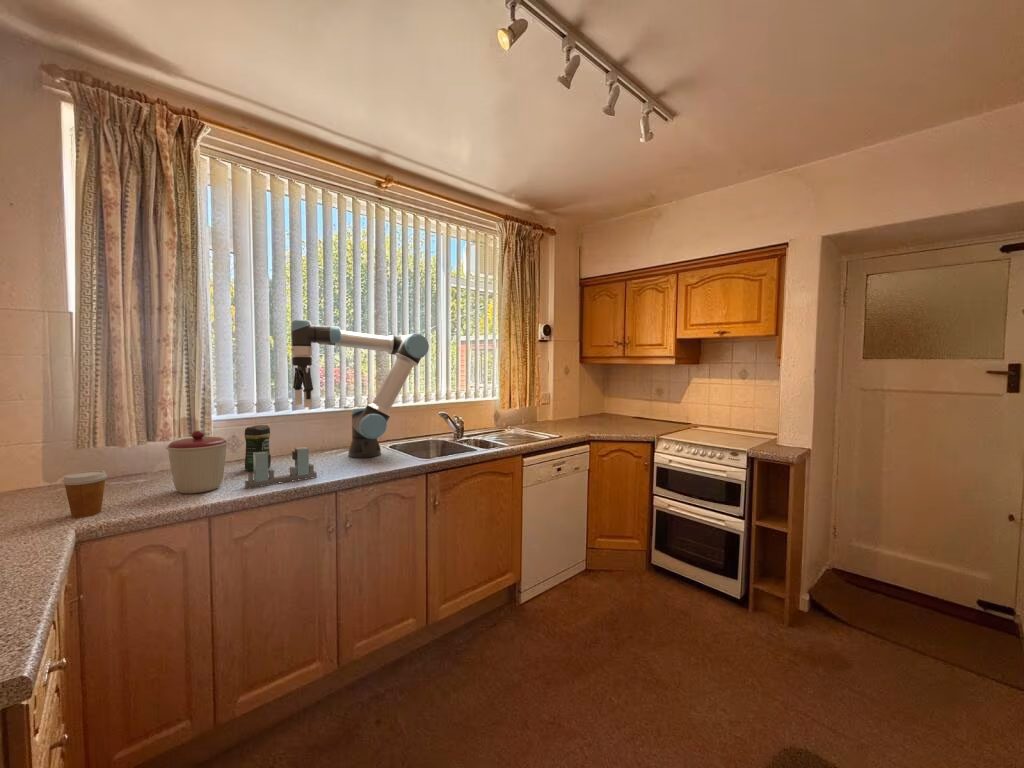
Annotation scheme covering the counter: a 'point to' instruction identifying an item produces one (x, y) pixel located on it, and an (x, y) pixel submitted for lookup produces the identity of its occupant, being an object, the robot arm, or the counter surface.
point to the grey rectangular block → (261, 465)
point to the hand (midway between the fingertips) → (303, 406)
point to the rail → (297, 472)
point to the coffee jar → (256, 443)
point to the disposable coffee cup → (85, 492)
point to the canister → (197, 463)
